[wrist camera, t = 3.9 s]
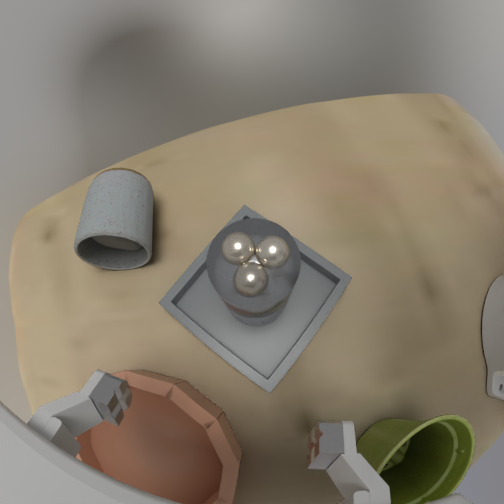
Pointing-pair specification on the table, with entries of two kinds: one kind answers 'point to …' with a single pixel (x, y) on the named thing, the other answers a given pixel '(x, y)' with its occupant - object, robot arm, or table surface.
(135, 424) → the terracotta bowl
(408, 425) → the plant pot
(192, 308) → the parts tray
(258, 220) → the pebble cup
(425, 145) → the table surface
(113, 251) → the ceramic mug
